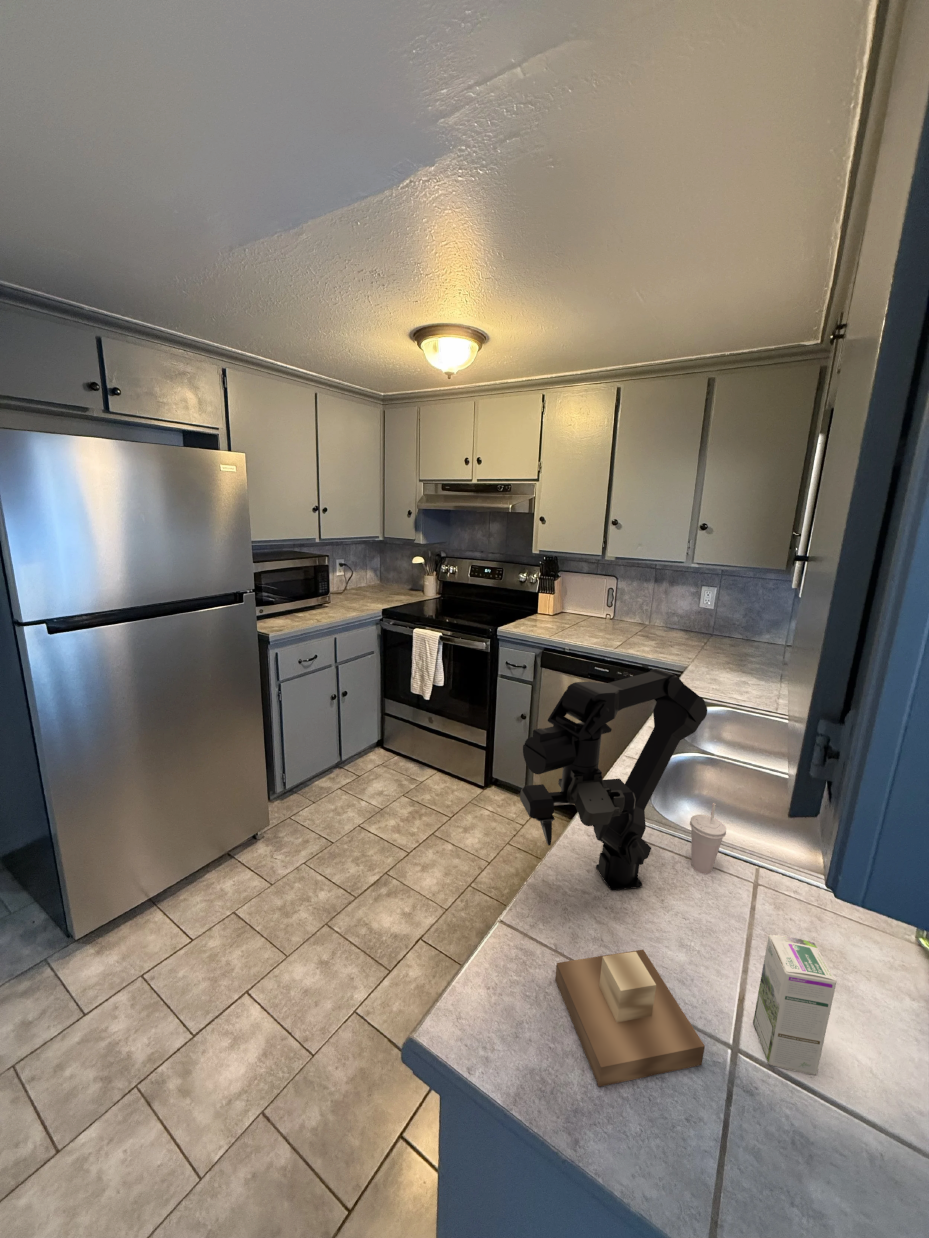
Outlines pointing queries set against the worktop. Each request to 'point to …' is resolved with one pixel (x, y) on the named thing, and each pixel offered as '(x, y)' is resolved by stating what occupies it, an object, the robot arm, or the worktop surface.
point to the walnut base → (626, 1026)
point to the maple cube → (627, 986)
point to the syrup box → (793, 1004)
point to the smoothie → (705, 841)
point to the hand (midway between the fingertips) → (573, 841)
